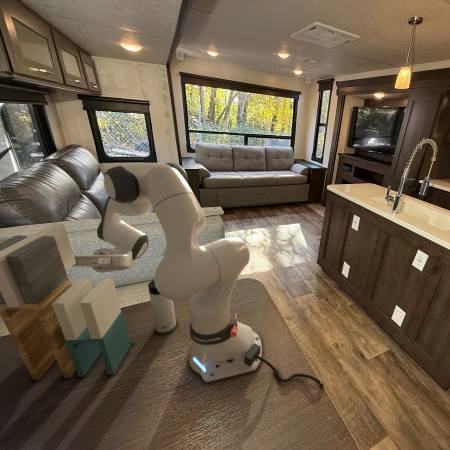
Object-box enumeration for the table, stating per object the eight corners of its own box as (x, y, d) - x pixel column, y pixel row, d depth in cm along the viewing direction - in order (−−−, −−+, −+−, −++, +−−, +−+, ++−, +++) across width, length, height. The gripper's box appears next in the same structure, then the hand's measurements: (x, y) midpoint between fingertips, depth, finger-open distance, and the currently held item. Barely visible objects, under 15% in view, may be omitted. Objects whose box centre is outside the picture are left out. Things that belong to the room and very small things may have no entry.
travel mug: (169, 336, 84) (161, 288, 76) (151, 331, 85) (142, 284, 77) (180, 322, 89) (174, 277, 82) (164, 318, 90) (157, 273, 83)
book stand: (92, 346, 78) (55, 236, 62) (70, 377, 69) (20, 256, 53) (60, 348, 76) (14, 235, 61) (32, 379, 67) (-30, 256, 52)
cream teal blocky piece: (130, 345, 79) (114, 278, 69) (113, 374, 70) (91, 302, 60) (99, 346, 78) (78, 278, 68) (78, 376, 69) (49, 303, 59)
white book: (76, 262, 74) (63, 223, 69) (20, 307, 57) (-2, 258, 52) (67, 262, 74) (54, 223, 69) (7, 307, 57) (-16, 258, 52)
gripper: (75, 251, 89) (42, 251, 76) (136, 251, 92) (115, 251, 79) (73, 269, 88) (39, 271, 75) (135, 268, 92) (113, 271, 78)
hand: (79, 261), depth 77 cm, fingers open, 8 cm apart
